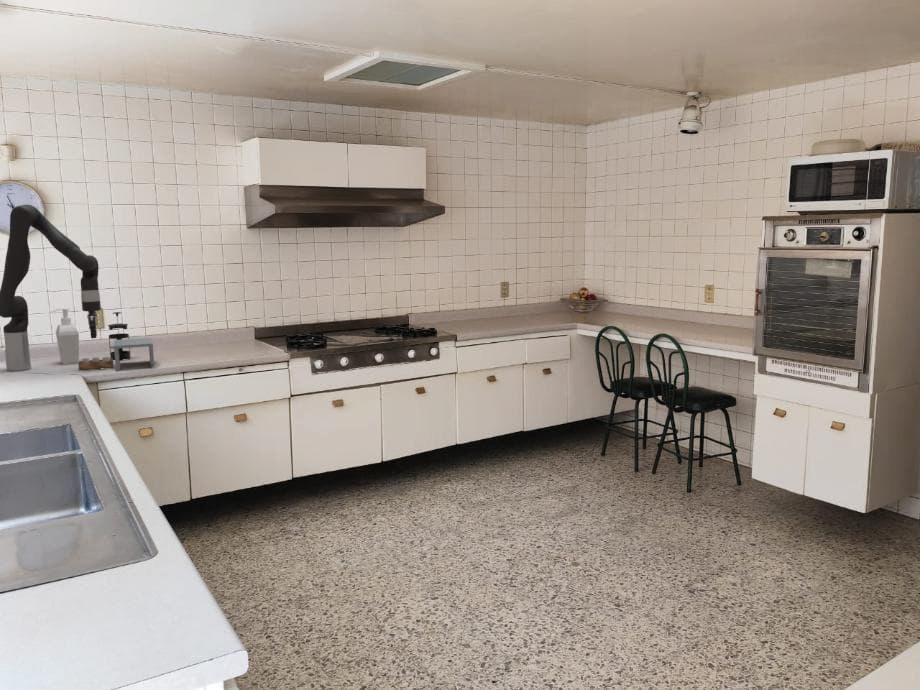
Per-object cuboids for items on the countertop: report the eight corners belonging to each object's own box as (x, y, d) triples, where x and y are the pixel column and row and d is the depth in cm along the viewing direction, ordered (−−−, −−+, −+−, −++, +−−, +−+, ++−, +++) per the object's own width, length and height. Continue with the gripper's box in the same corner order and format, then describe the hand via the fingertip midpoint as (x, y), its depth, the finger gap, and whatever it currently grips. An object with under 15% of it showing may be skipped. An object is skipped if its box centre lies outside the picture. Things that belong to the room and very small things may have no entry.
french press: (130, 360, 357) (127, 312, 353) (109, 361, 353) (105, 313, 349) (131, 356, 367) (128, 310, 364) (110, 357, 364) (107, 311, 360)
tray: (113, 366, 341) (112, 355, 340) (113, 368, 336) (112, 357, 335) (79, 368, 335) (78, 358, 334) (79, 370, 330) (78, 360, 329)
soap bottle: (54, 361, 353) (49, 308, 349) (77, 359, 359) (73, 306, 355) (57, 365, 343) (52, 310, 339) (81, 363, 349) (76, 309, 344)
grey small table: (115, 370, 330) (113, 346, 328) (116, 363, 348) (114, 340, 346) (154, 367, 336) (152, 343, 335) (152, 360, 354) (150, 337, 352)
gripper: (99, 301, 326) (102, 338, 328) (100, 298, 339) (103, 334, 341) (80, 302, 323) (84, 339, 325) (82, 299, 335) (85, 335, 338)
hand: (94, 337), depth 333 cm, fingers open, 5 cm apart
